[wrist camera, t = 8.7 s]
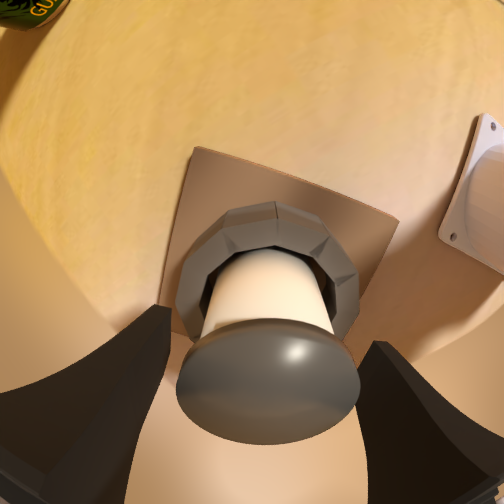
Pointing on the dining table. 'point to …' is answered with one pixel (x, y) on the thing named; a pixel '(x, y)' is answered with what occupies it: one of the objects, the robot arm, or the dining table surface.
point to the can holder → (268, 236)
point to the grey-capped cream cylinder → (267, 354)
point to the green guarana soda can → (28, 13)
